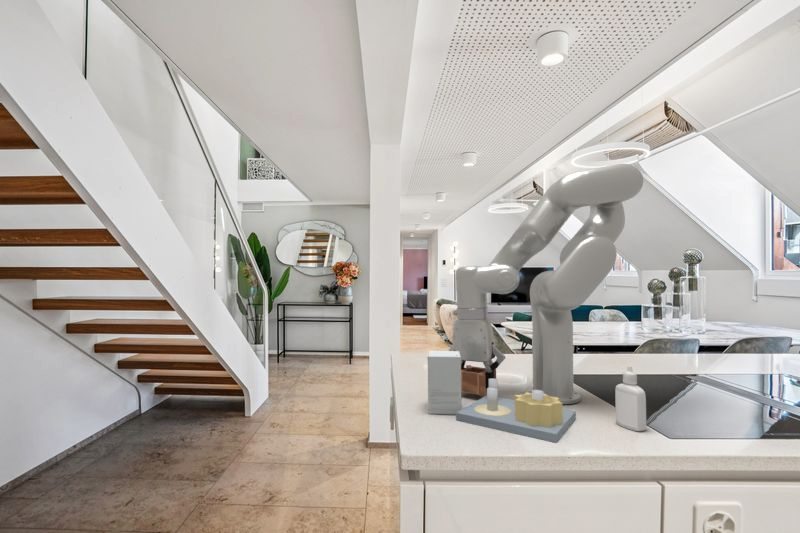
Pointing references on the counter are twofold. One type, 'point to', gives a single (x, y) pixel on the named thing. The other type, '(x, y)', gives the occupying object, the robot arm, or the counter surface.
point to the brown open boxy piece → (474, 380)
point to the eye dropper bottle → (630, 403)
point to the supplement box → (444, 382)
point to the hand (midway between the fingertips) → (476, 385)
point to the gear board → (514, 424)
